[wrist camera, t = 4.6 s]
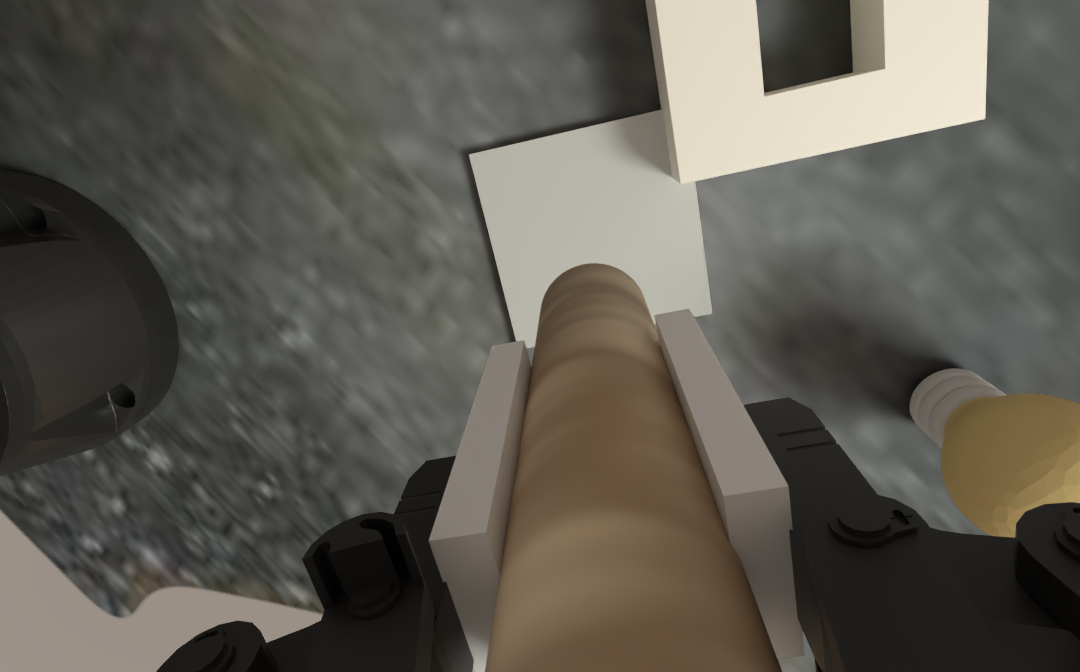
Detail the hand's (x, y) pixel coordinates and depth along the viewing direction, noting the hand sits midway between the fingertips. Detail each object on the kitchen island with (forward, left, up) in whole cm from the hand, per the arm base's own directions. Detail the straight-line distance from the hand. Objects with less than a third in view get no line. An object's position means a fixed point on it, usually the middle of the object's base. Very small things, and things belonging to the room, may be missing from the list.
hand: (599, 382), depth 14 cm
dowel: (0, 0, -5) cm, 5 cm away
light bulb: (+16, -12, -17) cm, 27 cm away
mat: (0, 0, -17) cm, 17 cm away
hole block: (+10, +7, -17) cm, 21 cm away
